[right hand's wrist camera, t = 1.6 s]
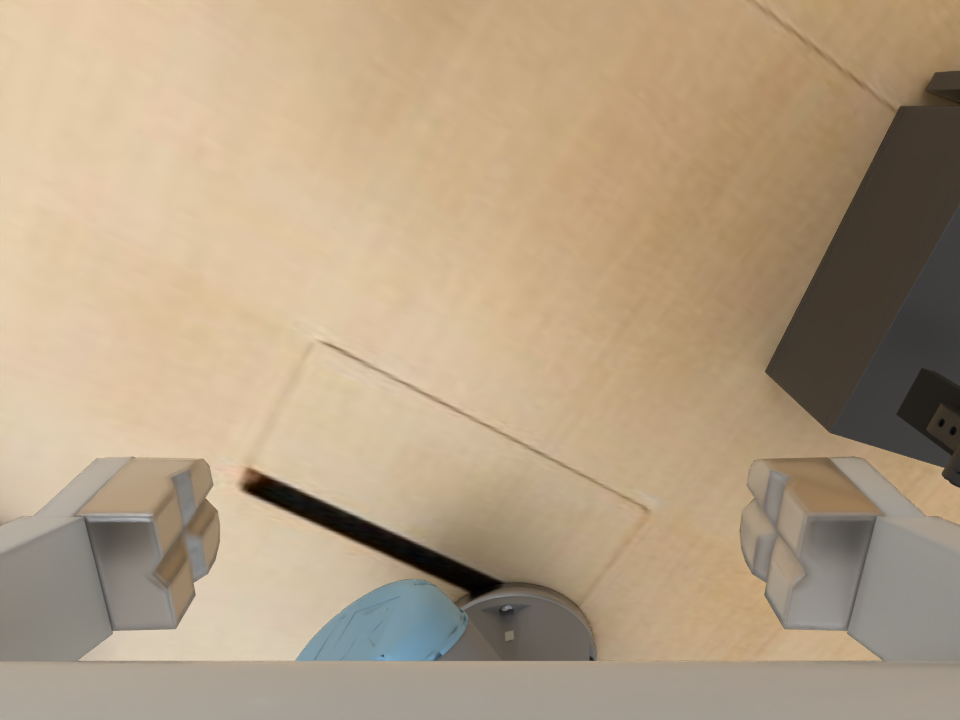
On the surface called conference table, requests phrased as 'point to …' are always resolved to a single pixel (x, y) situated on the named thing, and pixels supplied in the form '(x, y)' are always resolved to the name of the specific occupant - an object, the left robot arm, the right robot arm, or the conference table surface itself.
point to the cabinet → (885, 292)
